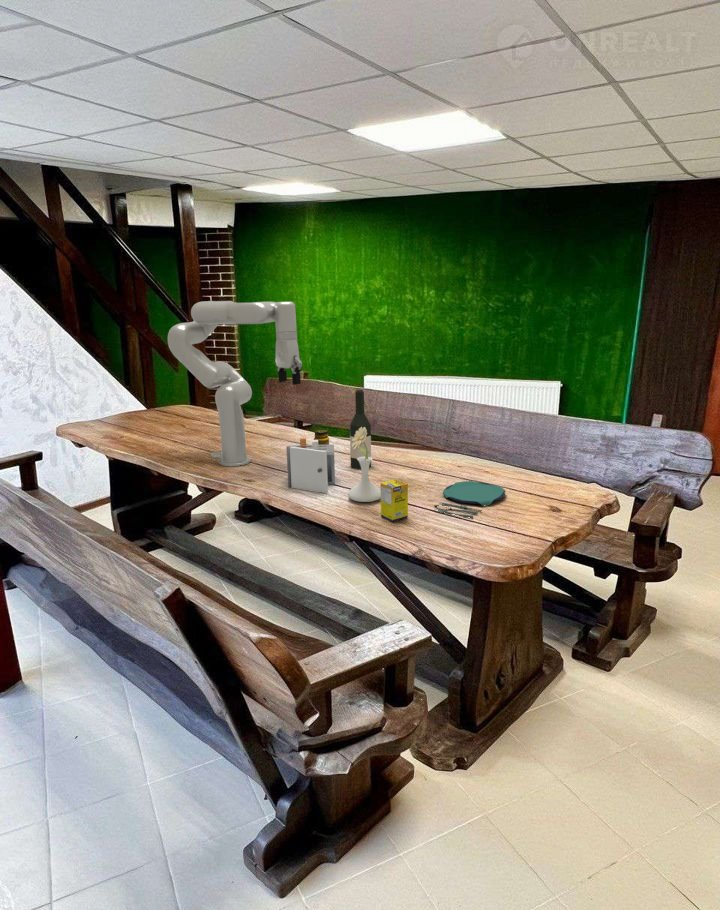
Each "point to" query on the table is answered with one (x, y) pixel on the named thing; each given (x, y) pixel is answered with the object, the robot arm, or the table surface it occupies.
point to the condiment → (322, 437)
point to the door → (307, 469)
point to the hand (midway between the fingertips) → (289, 382)
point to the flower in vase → (363, 473)
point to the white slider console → (329, 460)
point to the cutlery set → (472, 495)
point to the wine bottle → (355, 424)
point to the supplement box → (394, 500)
